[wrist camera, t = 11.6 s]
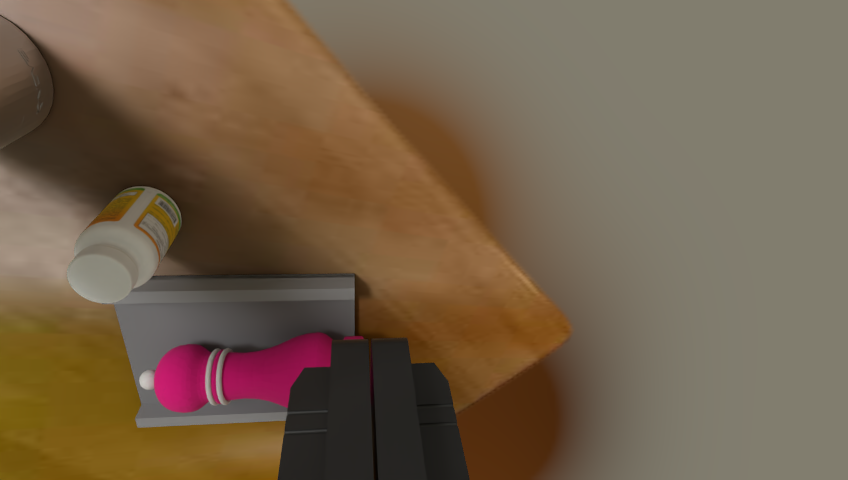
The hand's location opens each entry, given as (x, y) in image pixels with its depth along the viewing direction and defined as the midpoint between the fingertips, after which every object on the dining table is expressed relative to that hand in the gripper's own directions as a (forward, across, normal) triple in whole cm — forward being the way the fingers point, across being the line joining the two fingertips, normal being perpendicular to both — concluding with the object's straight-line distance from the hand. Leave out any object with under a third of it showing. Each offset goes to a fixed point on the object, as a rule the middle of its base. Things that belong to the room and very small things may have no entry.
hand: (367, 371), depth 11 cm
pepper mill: (+29, -1, +27) cm, 39 cm away
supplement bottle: (+33, +17, +13) cm, 39 cm away
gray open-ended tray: (+33, +11, +27) cm, 44 cm away
